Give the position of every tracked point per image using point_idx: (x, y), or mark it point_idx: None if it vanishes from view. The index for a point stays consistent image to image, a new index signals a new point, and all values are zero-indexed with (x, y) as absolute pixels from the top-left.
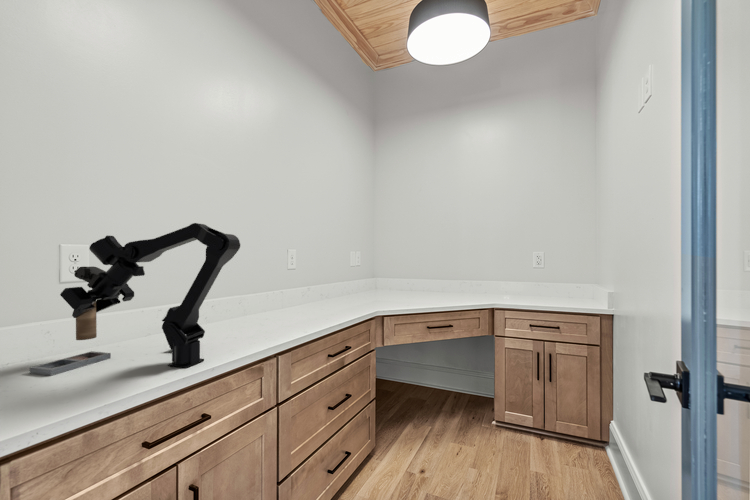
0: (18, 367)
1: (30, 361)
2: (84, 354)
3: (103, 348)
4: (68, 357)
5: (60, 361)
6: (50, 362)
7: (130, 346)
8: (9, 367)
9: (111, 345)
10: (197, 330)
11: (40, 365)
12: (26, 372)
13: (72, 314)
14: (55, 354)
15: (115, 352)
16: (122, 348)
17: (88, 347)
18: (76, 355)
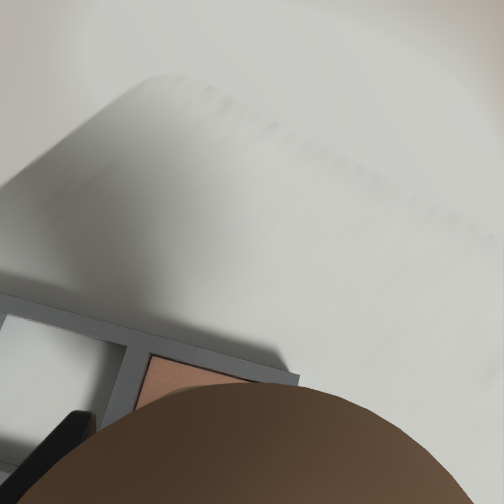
0: (110, 150)
1: (206, 126)
2: (245, 376)
3: (441, 313)
4: (169, 342)
5: (116, 341)
6: (70, 321)
7: (499, 454)
8: (115, 110)
9: (499, 310)
10: None
11: (14, 313)
12: (16, 259)
13: (59, 425)
14: (320, 147)
15: None
16: (454, 436)
17: (448, 212)
18: (211, 355)
